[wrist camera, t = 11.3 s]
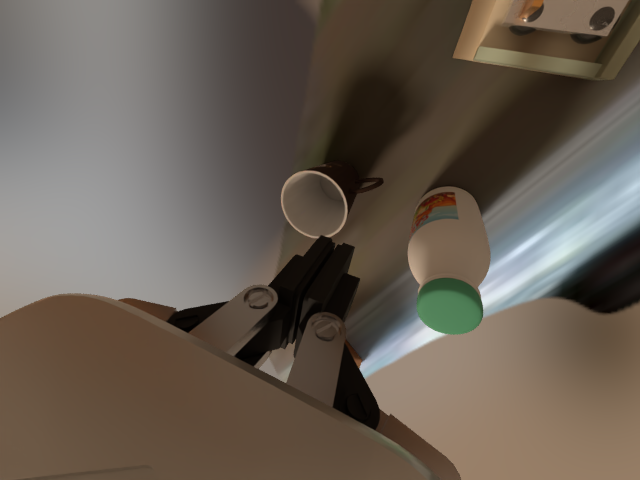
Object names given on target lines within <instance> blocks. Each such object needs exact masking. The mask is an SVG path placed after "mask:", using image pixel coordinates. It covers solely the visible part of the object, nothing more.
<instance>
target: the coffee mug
mask: <svg viewBox="0 0 640 480" xmlns="http://www.w3.org/2000/svg"><path fill="white" fill-rule="evenodd" d="M364 182H376V183H375V184H373V185H370V186H368V187H365V188H361V189H359V185H360V183H364ZM383 183H384V182H383V179H382V178H366V179H359V176H358V174H357V172H356V170H355V169H354V168H353V167H352V166H351V165H350V164H348V163H346V162H344V161H332V162H329V163H326V164H322V165H319V166H316V167H313V168H310V169H307V170H304V171H300V172H298V173H296V174H294V175H292V176H291V177H290V178H289V179H288V180H287V181H286V183H285V184H284V187H283V189H282V193H281V205H282V209H283V212H284V215H285V216H286V218H287V220H288V221H289V223H290V224H291V225H292V226H293V227H294V228H295V229H296V230H297V231H299V232H300V233H302V234H304V235H306V236H308V237H312V238H319V237H320V235H323V236H326V237H331V236H333V235H334V234H336V233H337V232H338V231H340V230H341V228H342V227H343V225H344V224H345V221H346V219H347V216H348V214H349V212H350V209H351V207H352V204H353V202H354V199H355V197H356V195H357V193H363V192H366V191H369V190H372V189H374V188H377V187H379V186H380V185H382V184H383Z"/></svg>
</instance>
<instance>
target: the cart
mask: <svg viewBox="0 0 640 480" xmlns="http://www.w3.org/2000/svg"><path fill="white" fill-rule="evenodd" d="M628 1H629V0H511V2H510V4H509V7H508V9H507V11H506V14H505V16H504V19H503V21H502V23H501V27H509V30H510V31H511V32H512V33H513V34H514V35H517V36H524V35H528V34H530V33H533V32H534V31H536V30H542V31H550V32H557V33H565V34H570V37H571V39H572V40H573V41H574V42H576V43H578V44H590V43H593V42H596V41H598V40H600V39H602V38H603V37H606V36H608V34H609V33H610V32H611V31H612V30H613V28H614V27H615V26H616V24H617V23H618V21H619V19H620V16H621V12H622V11H623V9H624V7H625V6H626V4H627V2H628Z"/></svg>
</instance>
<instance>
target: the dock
mask: <svg viewBox="0 0 640 480" xmlns="http://www.w3.org/2000/svg"><path fill="white" fill-rule="evenodd" d="M510 2H511V0H473V2H472V5H471V7H470V10H469V13H468V16H467V19H466V21H465V24H464V27H463V30H462V33H461V35H460V38H459V41H458V44H457V46H456V49H455V52H454V55H453V58H457V59H463V60H470V61H476V62H482V63H488V64H495V65H501V66H507V67H513V68H520V69H526V70H532V71H538V72H544V73H551V74H557V75H563V76H569V77H576V78H582V79H588V80H614V78H615V77H616V75H617V74H618V72H619V71H620V69H621V68H622V66H623V64H624V63H625V61H626V60H627V58H628V57H629V55H630V54H631V52H632V51H633V49H634V48H635V46H636V45H637V43H638V42H639V40H640V0H629V1H628V2H627V4H626V6H625V7H624V9H623V11H622V12H621V16H620V19H619V21H618V23H617V24H616V26H615V27H614V28H613V30H612V31H611V32H610V33H609V34H608V36H606V37H603V38H602V39H600V40H598V41H596V42H593V43H590V44H578V43H576V42H574V41H573V40H572V39H571V37H570V34H565V33H557V32H550V31H542V30H536V31H534V32H533V33H530V34H528V35H524V36H517V35H514V34H513V33H512V32H511V31H510V30H509V27H501V23H502V21H503V19H504V16H505V14H506V11H507V9H508V7H509V4H510Z"/></svg>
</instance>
